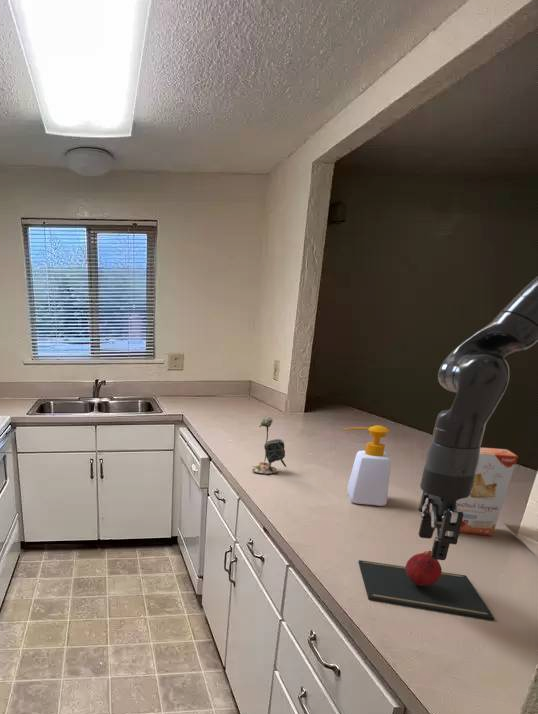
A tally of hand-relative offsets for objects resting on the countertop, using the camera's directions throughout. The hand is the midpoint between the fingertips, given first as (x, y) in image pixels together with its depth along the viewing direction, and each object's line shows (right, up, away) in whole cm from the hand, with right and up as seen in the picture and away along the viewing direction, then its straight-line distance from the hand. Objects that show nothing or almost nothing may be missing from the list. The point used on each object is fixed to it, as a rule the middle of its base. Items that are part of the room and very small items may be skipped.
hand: (430, 547), depth 83 cm
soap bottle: (+9, +7, +45) cm, 46 cm away
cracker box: (+25, 0, +27) cm, 37 cm away
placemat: (0, -9, +3) cm, 9 cm away
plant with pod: (-10, +15, +68) cm, 70 cm away
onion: (0, -8, +3) cm, 9 cm away
